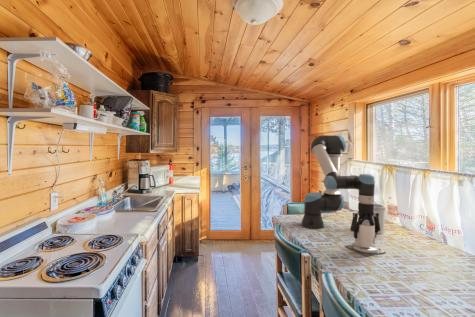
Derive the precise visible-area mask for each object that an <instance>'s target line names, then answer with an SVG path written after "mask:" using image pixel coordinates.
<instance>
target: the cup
mask: <svg viewBox="0 0 475 317" xmlns="http://www.w3.org/2000/svg"><path fill="white" fill-rule="evenodd" d="M374 232H375V225H374V226H370V223H369V222H365V221H364V222H362V225H360V226H359V231H358V233H359V245H360V246H362V247H367V248H369V247H372V245H373V244H372V242H373V237H374Z"/></svg>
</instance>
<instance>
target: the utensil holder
mask: <svg viewBox="0 0 475 317" xmlns="http://www.w3.org/2000/svg"><path fill="white" fill-rule="evenodd" d="M373 204H374V210H373V212H376V213H378V214H379V217H378V218H379V224H380V231H378V233H377V234H380V235H381V234H384V231H385V217H386V216H385V214H386V212H385V210H386V205H385V204H381V203H376V202H374V203H373ZM372 219H373V222H374V216H372ZM364 221H365V222H369V221H368V220H364ZM374 224H375V223H374Z"/></svg>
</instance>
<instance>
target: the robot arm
mask: <svg viewBox="0 0 475 317" xmlns="http://www.w3.org/2000/svg"><path fill="white" fill-rule="evenodd" d="M346 149H347V141H346V139H345V138H344V136H342V135H338V134H337V135H334V134H333V135H331V134H330V135H327V134H326V135H323V134H322V135H318V136H316V137H315V138H313V140H312V141H311V143H310V151H311V153H312V154H313V156H315V158H316V160H317V163H318V165H319V167H320V169H321V171H322V173H323V175H324V177H323V184H324V185H323V186H324V187H325V190H323V193H321V192H308V193H305V195H304V200H303V201H304V205H303V206H304V210H303V211H304V212H303V213H304V214H303V218H302V221H301V226H302V227H304V228H307V229H310V230H311V229H314V230H317V229H323V228H324V227H325V224H324V219H323V216H322V212H340V211H342V209H343V208H344V206H345V199H344V196H343V195H342V193H341V191H339V190H358V200H357V202H358V203H357V206H358V209H357V210H358V211H357V212H352V221H351V225H350V231H351V232H353V238H354V243H355V244H357V245H359V233H358V231H359V226H360V225H362V222H364V220H368V221H369V223H370V226H374V225H375V232H374V237H373V242H372V245H376V239H377V233H378V231H380V224H379V218H378V217H379V214H378V213H376V212H373V210H374V204H373V203H375V186H376V185H375V183H376V180H375V175H373V174H369V173H360V174H359V175H354V174H353V175H340V167H341V166H340V161H341V160H340V159H341V157H342V156H343V153H344V152H345V151H346ZM372 216H374V222H373V219H372ZM374 223H375V224H374Z"/></svg>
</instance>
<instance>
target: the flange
mask: <svg viewBox="0 0 475 317" xmlns="http://www.w3.org/2000/svg"><path fill="white" fill-rule="evenodd" d="M344 247H345V248H347V249H349V250H351V251H353V252H355V253H356V254H359V255H361V256H363V257H366V258H368V257H374V256H378V255H383V254H386V253H387V252H386V251H385V250H382V249H381V248H379V247H378V246H376V245H375V244H372V247H369V248H367V247H362V246H360V245H357V244H355V242H353V243H351V244H347V245H344Z"/></svg>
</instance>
